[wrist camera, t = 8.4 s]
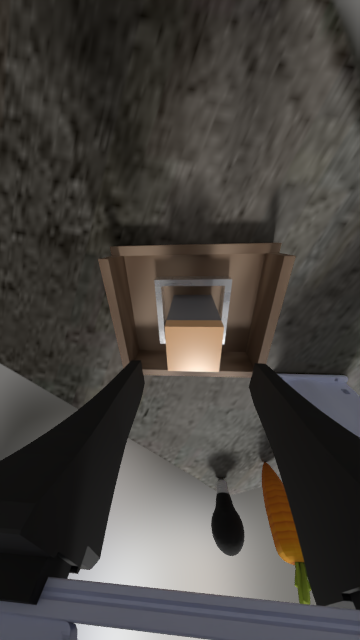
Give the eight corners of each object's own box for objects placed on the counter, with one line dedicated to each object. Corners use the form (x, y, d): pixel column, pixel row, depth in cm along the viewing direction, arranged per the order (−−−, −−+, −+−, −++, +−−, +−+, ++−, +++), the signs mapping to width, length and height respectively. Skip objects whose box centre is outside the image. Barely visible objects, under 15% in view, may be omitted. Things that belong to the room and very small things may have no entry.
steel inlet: (228, 275, 16) (232, 279, 15) (222, 337, 19) (224, 344, 18) (157, 276, 17) (154, 279, 15) (162, 336, 20) (160, 343, 18)
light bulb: (204, 481, 38) (208, 556, 29) (212, 470, 35) (220, 548, 26) (228, 485, 38) (240, 561, 29) (238, 474, 36) (254, 554, 27)
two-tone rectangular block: (211, 294, 17) (224, 327, 11) (209, 327, 19) (218, 372, 13) (173, 294, 17) (164, 326, 11) (174, 327, 19) (167, 370, 13)
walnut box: (273, 242, 15) (299, 243, 12) (249, 354, 21) (262, 377, 17) (116, 246, 16) (95, 248, 12) (135, 352, 22) (124, 374, 18)
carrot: (277, 454, 31) (343, 618, 18) (279, 467, 33) (339, 622, 20) (250, 457, 32) (293, 614, 19) (253, 469, 34) (295, 618, 21)
